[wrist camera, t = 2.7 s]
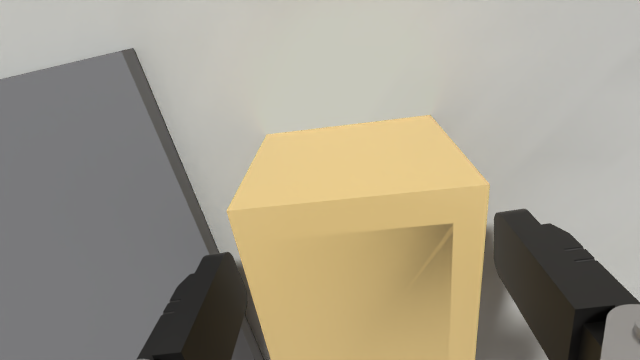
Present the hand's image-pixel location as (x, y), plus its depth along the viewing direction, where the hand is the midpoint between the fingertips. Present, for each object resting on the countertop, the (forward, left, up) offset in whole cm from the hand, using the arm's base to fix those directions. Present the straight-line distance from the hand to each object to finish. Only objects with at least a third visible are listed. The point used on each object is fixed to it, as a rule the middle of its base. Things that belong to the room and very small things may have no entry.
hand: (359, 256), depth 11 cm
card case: (0, 0, -1) cm, 1 cm away
